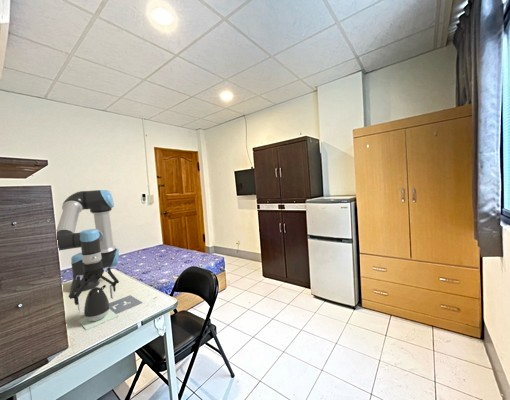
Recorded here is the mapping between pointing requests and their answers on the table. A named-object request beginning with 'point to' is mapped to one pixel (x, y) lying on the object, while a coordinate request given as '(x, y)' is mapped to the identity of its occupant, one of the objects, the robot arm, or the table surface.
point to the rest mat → (90, 324)
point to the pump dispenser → (96, 304)
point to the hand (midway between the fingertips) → (97, 304)
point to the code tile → (124, 304)
